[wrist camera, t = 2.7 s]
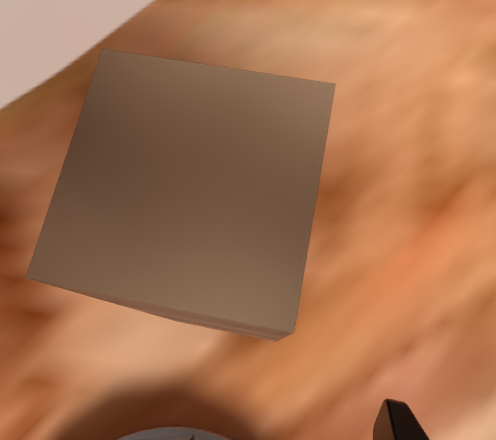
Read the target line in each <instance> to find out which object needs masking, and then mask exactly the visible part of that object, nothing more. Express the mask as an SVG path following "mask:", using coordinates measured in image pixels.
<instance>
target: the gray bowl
mask: <svg viewBox="0 0 496 440" xmlns="http://www.w3.org/2000/svg"><path fill="white" fill-rule="evenodd" d="M117 440H233V439H231V438H229V437H226V436H224V435H221V434H219V433H217V432H213V431H209V430H205V429H201V428H196V427H187V426H161V427H155V428H149V429H144V430H141V431H137V432H134V433H131V434H128V435H125V436H123V437H121V438H119V439H117Z"/></svg>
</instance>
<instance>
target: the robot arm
mask: <svg viewBox="0 0 496 440" xmlns="http://www.w3.org/2000/svg"><path fill="white" fill-rule="evenodd" d="M373 440H429V438H428V436H427V435H426V433H425V432H424V430H423V429H422V427H421V425H420V424H419V422H418V421H417V419H416V417H415V416H414V414H413V413H412V411H411V410H410V408H409V406H408V405H407V404H406V403H404V402H402V401H397V400H393V399H385V400H384V401H383V403H382V406H381V408H380V411H379V413H378V416H377V418H376V421H375V424H374V428H373Z"/></svg>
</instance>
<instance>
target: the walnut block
mask: <svg viewBox="0 0 496 440" xmlns="http://www.w3.org/2000/svg"><path fill="white" fill-rule="evenodd" d="M335 85H336V84H333V83H326V82H320V81H313V80H306V79H300V78H293V77H287V76H280V75H273V74H267V73H260V72H253V71H247V70H240V69H233V68H227V67H220V66H213V65H207V64H200V63H194V62H187V61H180V60H174V59H167V58H160V57H154V56H147V55H140V54H134V53H127V52H120V51H114V50H107V49H102V51H101V54H100V57H99V60H98V62H97V65H96V68H95V71H94V74H93V77H92V80H91V83H90V86H89V89H88V92H87V95H86V98H85V101H84V104H83V107H82V110H81V113H80V116H79V119H78V122H77V125H76V128H75V131H74V134H73V137H72V140H71V143H70V146H69V149H68V152H67V155H66V158H65V161H64V164H63V167H62V170H61V173H60V176H59V179H58V182H57V185H56V188H55V191H54V194H53V197H52V200H51V203H50V206H49V209H48V212H47V215H46V218H45V221H44V224H43V227H42V229H41V232H40V235H39V238H38V241H37V244H36V247H35V250H34V253H33V256H32V259H31V262H30V265H29V268H28V271H27V274H26V277H25V278H27V279H31V280H34V281H38V282H41V283H45V284H48V285H52V286H55V287H59V288H62V289H66V290H69V291H73V292H76V293H80V294H83V295H87V296H90V297H94V298H97V299H101V300H104V301H108V302H111V303H115V304H118V305H122V306H125V307H129V308H132V309H136V310H139V311H143V312H146V313H150V314H153V315H157V316H160V317H164V318H167V319H171V320H174V321H178V322H183V323H188V324H193V325H198V326H203V327H207V328H212V329H217V330H222V331H227V332H232V333H236V334H241V335H246V336H251V337H256V338H261V339H266V340H270V341H275V342H277V341H279V340H281V339H283V338H285V337H287V336H289V335H290V334H292V333H294V330H295V324H296V318H297V312H298V306H299V300H300V294H301V288H302V282H303V276H304V270H305V264H306V258H307V252H308V246H309V240H310V234H311V228H312V222H313V216H314V210H315V204H316V198H317V193H318V187H319V181H320V175H321V169H322V163H323V157H324V151H325V145H326V139H327V133H328V127H329V121H330V115H331V109H332V103H333V97H334V91H335Z"/></svg>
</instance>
